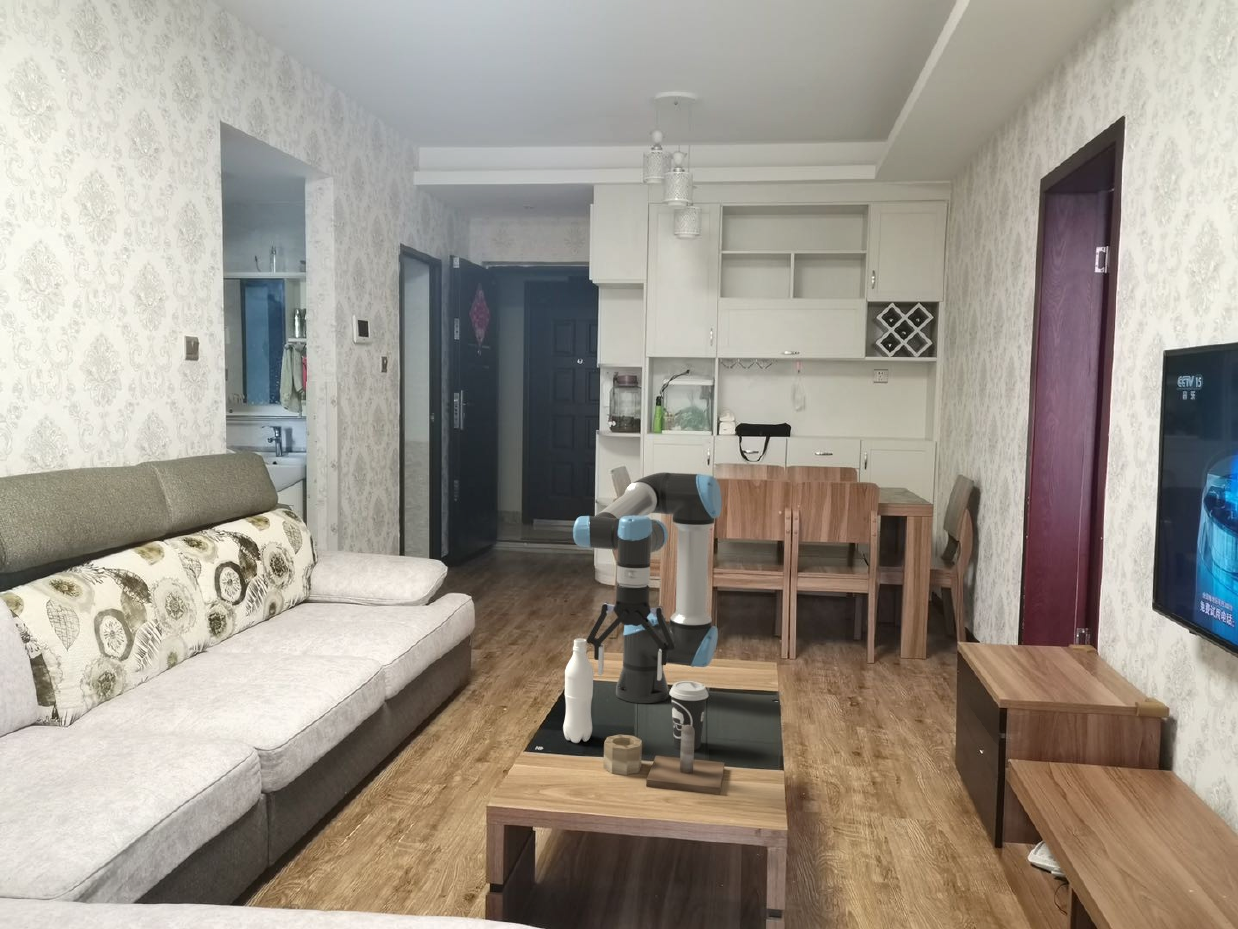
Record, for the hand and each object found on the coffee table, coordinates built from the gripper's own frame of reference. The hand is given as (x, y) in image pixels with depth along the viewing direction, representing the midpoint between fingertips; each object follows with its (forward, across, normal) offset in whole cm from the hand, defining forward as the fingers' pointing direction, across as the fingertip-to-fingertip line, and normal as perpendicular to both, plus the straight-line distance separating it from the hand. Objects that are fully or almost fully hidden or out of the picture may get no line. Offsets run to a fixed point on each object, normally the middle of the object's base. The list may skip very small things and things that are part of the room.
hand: (629, 676), depth 205 cm
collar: (+21, -1, 0) cm, 21 cm away
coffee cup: (+21, +12, +17) cm, 30 cm away
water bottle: (+21, -15, +14) cm, 30 cm away
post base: (+21, +14, -2) cm, 26 cm away
